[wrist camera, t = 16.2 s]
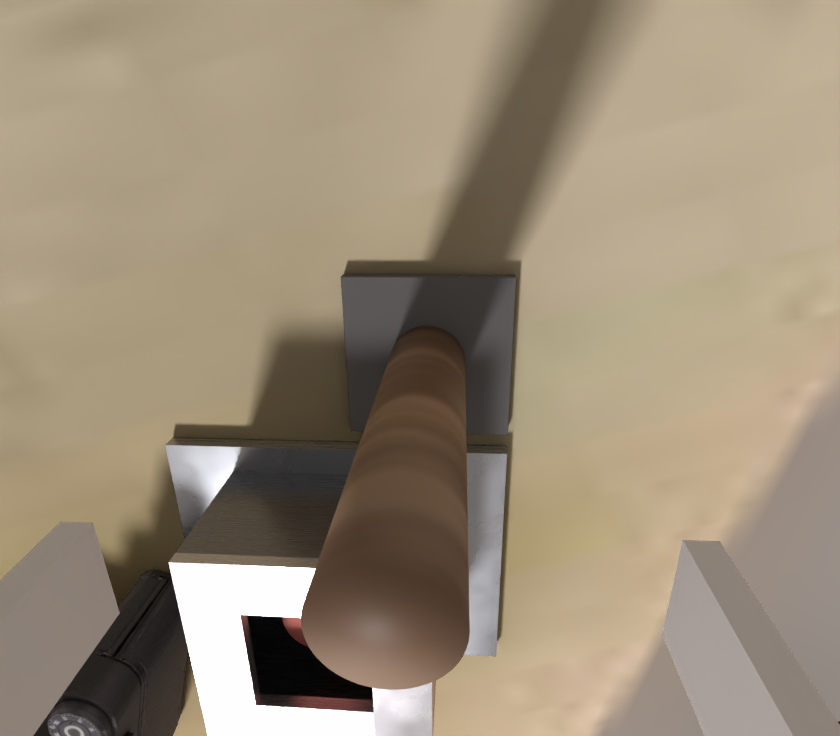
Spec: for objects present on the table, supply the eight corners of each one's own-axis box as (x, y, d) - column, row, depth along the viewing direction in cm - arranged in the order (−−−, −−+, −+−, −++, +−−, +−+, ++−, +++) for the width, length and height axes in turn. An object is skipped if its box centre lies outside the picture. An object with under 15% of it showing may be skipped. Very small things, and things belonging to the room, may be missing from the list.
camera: (32, 538, 33) (-132, 686, 24) (207, 578, 34) (111, 740, 24) (41, 696, 39) (-91, 867, 29) (192, 729, 39) (108, 910, 30)
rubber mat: (343, 274, 26) (340, 277, 25) (514, 275, 25) (516, 277, 25) (352, 425, 29) (351, 431, 28) (506, 429, 28) (507, 434, 28)
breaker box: (172, 437, 30) (79, 529, 23) (505, 446, 29) (520, 546, 21) (211, 630, 35) (146, 756, 28) (495, 645, 34) (504, 780, 26)
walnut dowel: (389, 325, 26) (292, 557, 11) (465, 326, 26) (471, 563, 11) (391, 394, 27) (308, 685, 12) (464, 396, 27) (468, 693, 12)
